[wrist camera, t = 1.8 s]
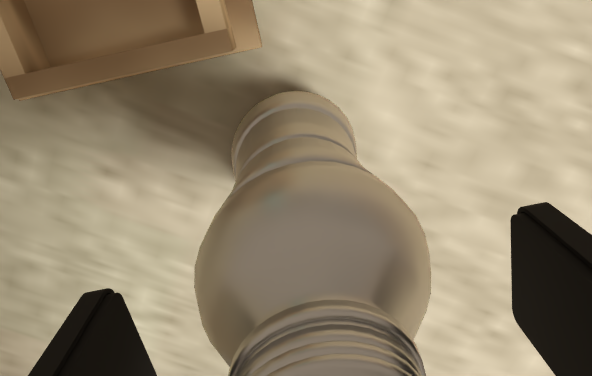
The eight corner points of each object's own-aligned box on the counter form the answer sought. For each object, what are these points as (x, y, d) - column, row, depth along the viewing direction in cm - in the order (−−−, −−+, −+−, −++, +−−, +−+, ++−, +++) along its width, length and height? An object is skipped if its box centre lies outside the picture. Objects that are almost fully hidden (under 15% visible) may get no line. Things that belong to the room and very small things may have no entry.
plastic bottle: (212, 145, 26) (43, 486, 7) (292, 57, 24) (344, 203, 6) (292, 213, 28) (325, 628, 9) (371, 136, 26) (614, 445, 7)
